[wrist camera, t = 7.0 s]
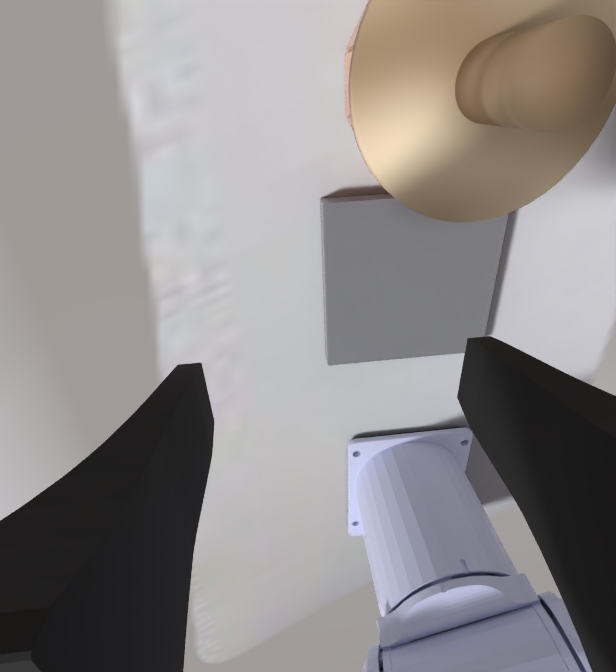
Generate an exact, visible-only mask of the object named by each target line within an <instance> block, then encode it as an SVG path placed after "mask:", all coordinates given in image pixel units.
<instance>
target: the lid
mask: <svg viewBox="0 0 616 672" xmlns="http://www.w3.org/2000/svg"><path fill="white" fill-rule="evenodd" d="M348 91H349V110H350V116H351V122H352V128H353V132H354V135H355V138H356V142H357V145H358V148H359V150H360V152H361V154H362V157H363V159H364V161H365V163H366V164H367V166H368V168H369V169H370V171H371V173H372V174H373V176H374V177H375V178H376V179H377V181H378V182H379V183H380V184H381V186H382V187H383V188H384V189H385V190H387V191H388V192H389V193H390V194H391V195H392V196H393V197H394V198H396V199H397V200H398V201H399V202H401V203H402V204H404V205H405V206H407V207H408V208H410V209H411V210H413V211H415V212H417V213H420V214H422V215H424V216H426V217H430V218H433V219H436V220H440V221H447V222H454V223H470V222H477V221H485V220H489V219H492V218H496V217H500V216H503V215H505V214H508V213H510V212H513V211H515V210H517V209H519V208H521V207H523V206H525V205H527V204H529V203H531V202H532V201H534V200H535V199H537V198H538V197H540V196H541V195H543V194H544V193H546V192H547V191H548V190H549V189H551V188H552V187H553V186H554V185H555V184H557V183H558V182H559V181H560V180H561V179H562V178H563V177H564V176H565V175H566V174H567V173H568V172H569V171H570V170H571V169H572V168H573V167H574V166H575V165H576V164H577V163H578V162H579V160H580V159H581V158H582V157H583V156H584V154H585V153H586V152H587V151H588V149H589V148H590V146H591V145H592V143H593V142H594V141H595V139H596V138H597V136H598V135H599V133H600V131H601V130H602V128H603V126H604V124H605V123H606V121H607V119H608V117H609V115H610V113H611V111H612V109H613V107H614V104H615V102H616V0H369V2H368V4H367V7H366V9H365V12H364V14H363V17H362V19H361V22H360V25H359V28H358V32H357V35H356V39H355V42H354V46H353V51H352V57H351V63H350V71H349V87H348Z"/></svg>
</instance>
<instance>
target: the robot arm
mask: <svg viewBox="0 0 616 672" xmlns="http://www.w3.org/2000/svg"><path fill="white" fill-rule="evenodd" d="M457 398H458V400H459V402H460V405H461V407H462V410H463V412H464V415H465V417H466V419H467V421H468V423H469V425H470V428H471V429H472V431H473V433H474V435H475V436H476V438H477V440H478V441H479V443H480V444H481V446H482V448H483V449H484V451H485V453H486V454H487V456H488V457H489V459H490V461H491V462H492V464H493V465H494V467H495V469H496V470H497V472H498V473H499V475H500V477H501V478H502V480H503V482H504V483H505V485H506V486H507V488H508V490H509V491H510V493H511V494H512V496H513V498H514V499H515V501H516V503H517V505H518V506H519V508H520V510H521V511H522V513H523V515H524V517H525V519H526V521H527V523H528V525H529V527H530V529H531V531H532V534H533V536H534V538H535V540H536V541H537V544H538V546H539V548H540V550H541V552H542V554H543V557H544V559H545V561H546V563H547V565H548V567H549V570H550V572H551V574H552V576H553V578H554V581H555V583H556V585H557V587H558V589H559V592H560V594H561V596H562V599H563V600H562V599H560V598H558V597H557V596H556V595H555V594H553V593H551V592H545V593H542V594H539V595H538V597H537V595H536V593H535V592H534V589H533V588H532V586H531V584H530V582H529V580H528V578H527V576H526V575H525V574H524V573H521V574H518V572H517V570H516V569H515V567H514V565H513V563H512V561H511V559H510V557H509V556H508V553H507V552H506V550H505V548H504V546H503V544H502V542H501V540H500V538H499V536H498V535H497V533H496V531H495V529H494V527H493V525H492V523H491V521H490V519H489V518H488V516H487V514H486V512H485V510H484V508H483V506H482V504H481V502H480V501H479V499H478V497H477V495H476V493H475V491H474V489H473V487H472V485H471V484H470V482H469V480H468V478H467V476H466V474H465V472H466V467H467V462H468V457H469V453H470V448H471V443H472V438H473V433H472V431H471V430H470V429H469V428H465V427H464V428H455V429H445V430H435V431H426V432H416V433H406V434H397V435H387V436H377V437H368V438H358V439H353V440H351V441H350V442H349V443H348V532H349V534H350V535H352V536H360V535H363V537H364V542H365V546H366V550H367V555H368V559H369V564H370V568H371V573H372V577H373V582H374V586H375V591H376V595H377V600H378V604H379V609H380V613H381V616H382V617H381V618H378V619H377V620H376V623H377V628H378V632H379V637H380V642H381V643H380V644H376V645H373V646H371V647H370V649H369V651H368V654H367V659H366V662H365V665H364V667H363V671H362V672H616V396H614V395H612V394H609V393H607V392H605V391H603V390H601V389H598V388H596V387H594V386H592V385H589V384H587V383H585V382H583V381H581V380H579V379H576V378H574V377H572V376H570V375H568V374H566V373H564V372H562V371H560V370H558V369H556V368H554V367H552V366H550V365H548V364H546V363H544V362H542V361H540V360H538V359H536V358H534V357H532V356H530V355H528V354H526V353H524V352H522V351H520V350H518V349H516V348H514V347H512V346H510V345H508V344H506V343H504V342H502V341H500V340H498V339H495V338H493V337H490V336H486V337H475V338H468V339H467V344H466V350H465V356H464V362H463V367H462V373H461V379H460V385H459V391H458V396H457ZM213 434H214V418H213V414H212V409H211V405H210V400H209V395H208V391H207V386H206V382H205V377H204V373H203V368H202V364H201V363H192V364H181V365H177V366H176V367H175V369H174V370H173V371H172V372H171V373H170V374H169V375H168V376H167V377H166V379H165V380H164V381H163V382H162V383H161V384H160V385H159V386H158V388H157V389H156V390H155V391H154V392H153V393H152V394H151V395H150V397H149V398H148V399H147V400H146V401H145V402H144V403H143V404H142V405H141V406H140V407H139V408H138V410H137V411H136V412H135V413H134V414H133V415H132V416H131V417H130V418H129V419H128V420H127V421H126V422H125V423H124V424H123V425H122V426H120V428H118V429H117V430H116V431H115V432H114V433H113V434H112V435H111V436H110V437H109V438H108V439H107V440H106V441H105V442H104V443H103V444H102V445H101V446H100V447H98V448H97V449H96V450H95V451H94V452H93V453H92V454H90V455H89V456H88V457H87V458H86V459H85V460H83V461H82V462H81V463H79V464H78V465H77V466H76V467H75V468H73V469H72V470H71V471H70V472H68V473H67V474H66V475H65V476H63V477H62V478H61V479H59V480H58V481H57V482H55V483H54V484H53V485H51V486H50V487H48V488H47V489H46V490H44V491H43V492H41V493H40V494H39V495H37V496H36V497H34V498H33V499H32V500H31V501H29V502H28V503H26V504H25V505H23V506H22V507H20V508H19V509H18V510H16V511H15V512H13V513H11V514H10V515H8V516H7V517H5V518H4V519H2V520H1V521H0V672H183V666H184V651H185V638H186V626H187V614H188V602H189V591H190V581H191V571H192V561H193V552H194V545H195V539H196V533H197V528H198V523H199V518H200V513H201V508H202V503H203V498H204V493H205V488H206V484H207V478H208V473H209V468H210V463H211V458H212V448H213ZM463 440H464V441H463ZM356 451H358V452H356ZM354 452H356V453H354Z"/></svg>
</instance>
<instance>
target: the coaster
mask: <svg viewBox="0 0 616 672" xmlns="http://www.w3.org/2000/svg"><path fill="white" fill-rule="evenodd" d="M320 204H321V234H322V264H323V294H324V324H325V353H326V359H327V363H328V365H338V364H348V363H359V362H370V361H380V360H391V359H402V358H412V357H423V356H434V355H444V354H455V353H465V350H466V344H467V339H468V338H475V337H485V332H486V327H487V322H488V317H489V311H490V306H491V301H492V296H493V291H494V286H495V281H496V276H497V271H498V266H499V261H500V256H501V251H502V245H503V240H504V235H505V230H506V225H507V220H508V215H509V213H508V214H505V215H503V216H500V217H496V218H492V219H489V220H485V221H477V222H470V223H454V222H447V221H440V220H436V219H433V218H430V217H426V216H424V215H422V214H420V213H417V212H415V211H413V210H411V209H410V208H408V207H407V206H405V205H404V204H402V203H401V202H399V201H398V200H397V199H396V198H394V197H393V196H392V195H391V194H376V195H362V196H348V197H334V198H320Z"/></svg>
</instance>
